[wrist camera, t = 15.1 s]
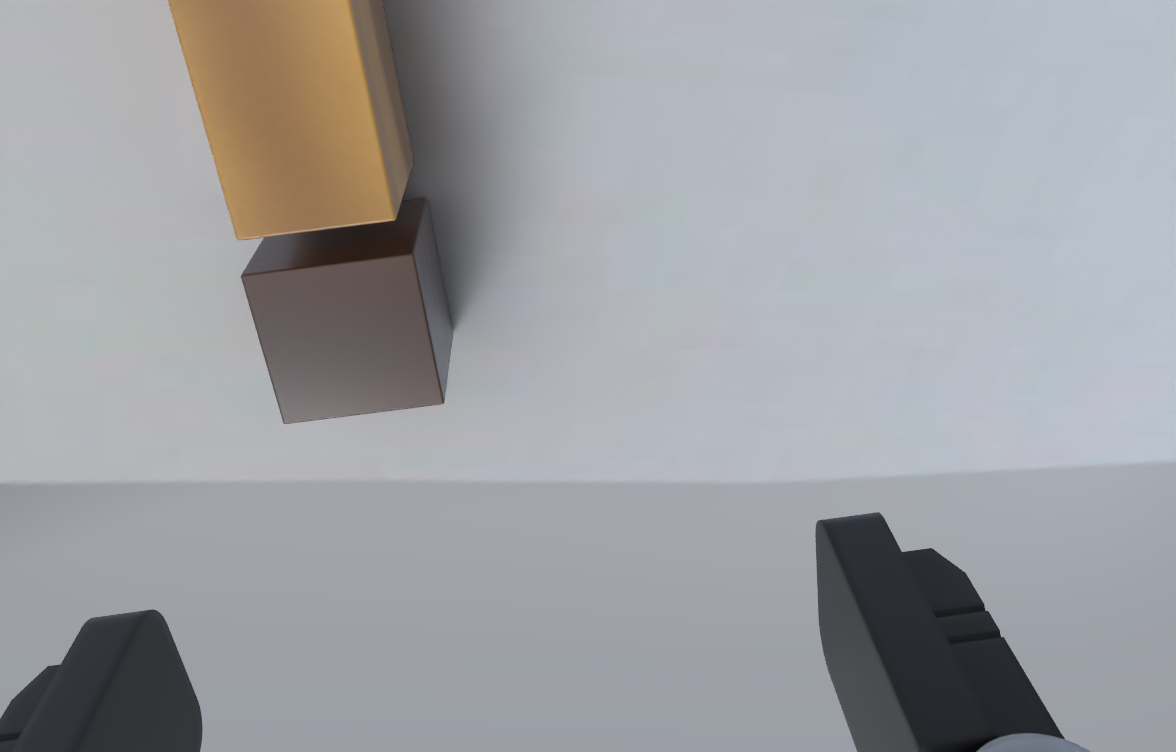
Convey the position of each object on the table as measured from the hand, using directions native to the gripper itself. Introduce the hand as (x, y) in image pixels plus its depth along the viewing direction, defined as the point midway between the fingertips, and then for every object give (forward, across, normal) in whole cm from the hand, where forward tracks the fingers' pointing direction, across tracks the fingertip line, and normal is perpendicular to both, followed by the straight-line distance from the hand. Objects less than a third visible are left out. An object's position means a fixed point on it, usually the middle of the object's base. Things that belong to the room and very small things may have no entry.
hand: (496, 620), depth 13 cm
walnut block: (+20, +5, +3) cm, 21 cm away
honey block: (+20, +5, -5) cm, 21 cm away
